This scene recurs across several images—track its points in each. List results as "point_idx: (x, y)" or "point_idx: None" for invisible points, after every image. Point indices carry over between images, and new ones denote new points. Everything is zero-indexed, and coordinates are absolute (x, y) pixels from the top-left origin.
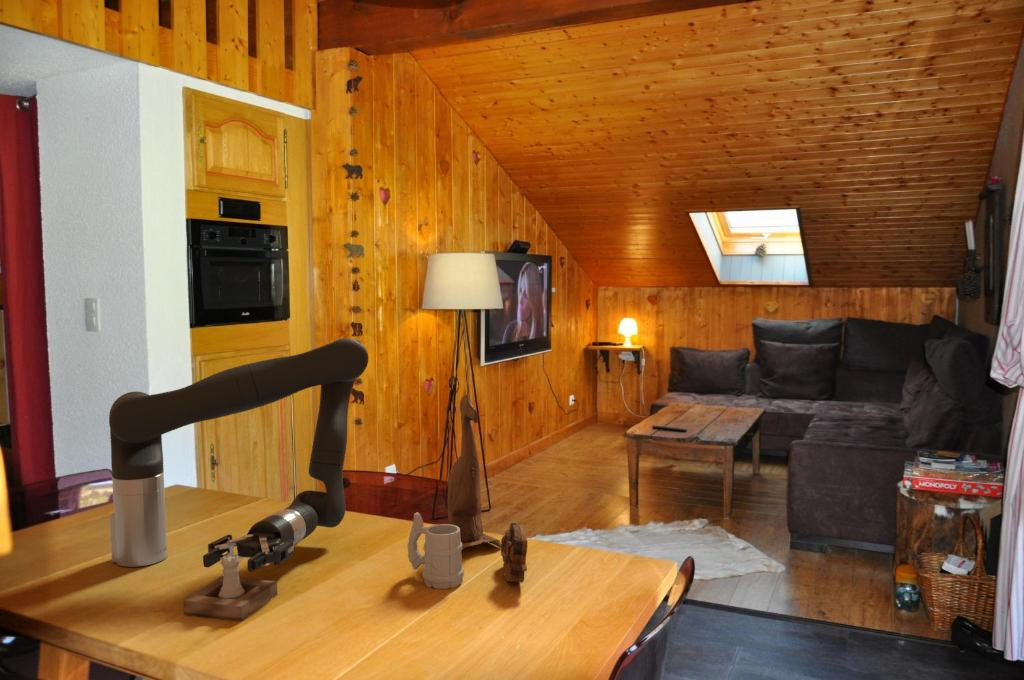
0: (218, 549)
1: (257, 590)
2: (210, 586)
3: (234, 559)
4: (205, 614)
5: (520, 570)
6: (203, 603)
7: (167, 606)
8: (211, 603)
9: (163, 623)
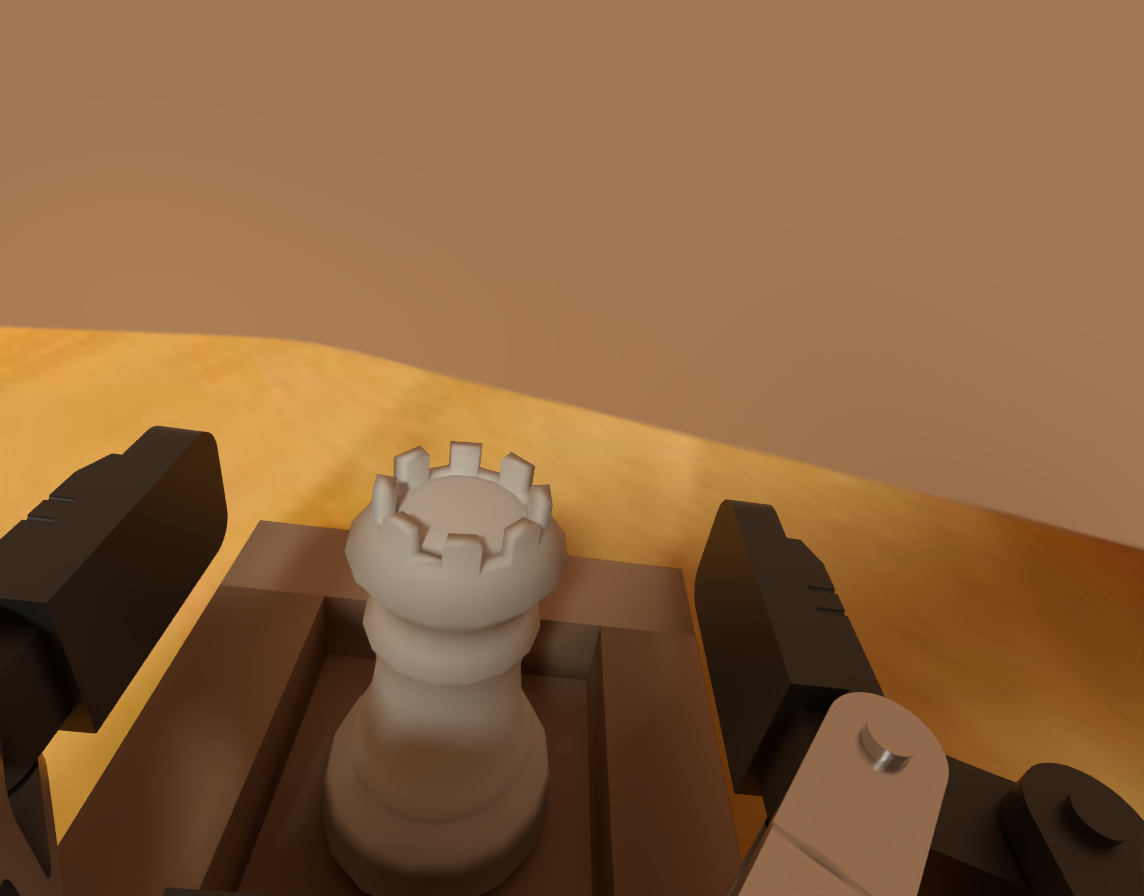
0: (779, 656)
1: (177, 772)
2: (679, 792)
3: (402, 497)
4: None
5: None
6: None
7: None
8: None
9: (680, 554)
